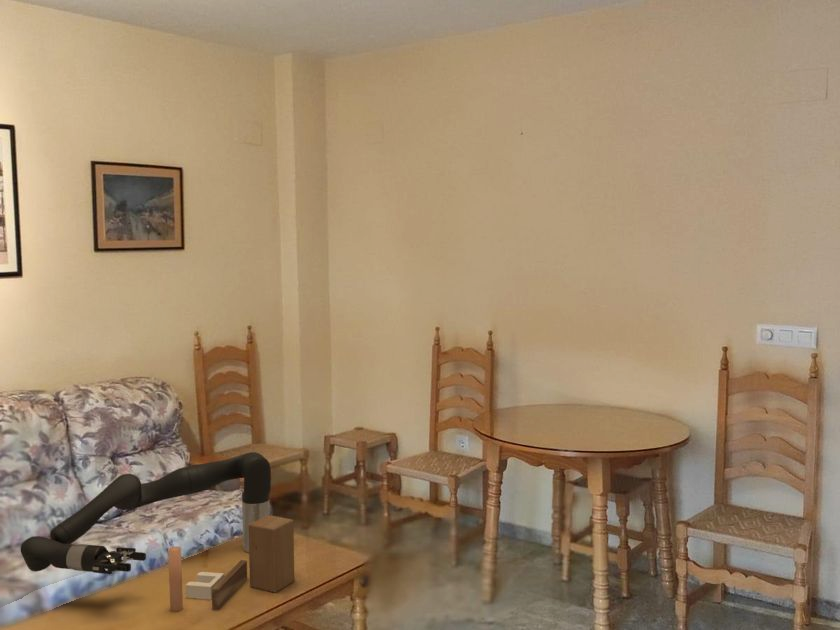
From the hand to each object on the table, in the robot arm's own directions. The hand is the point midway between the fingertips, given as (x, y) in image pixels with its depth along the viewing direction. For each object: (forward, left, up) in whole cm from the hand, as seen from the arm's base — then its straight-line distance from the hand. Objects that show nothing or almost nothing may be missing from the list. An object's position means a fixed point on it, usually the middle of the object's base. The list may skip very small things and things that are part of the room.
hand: (138, 562), depth 239 cm
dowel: (-8, +8, -13) cm, 18 cm away
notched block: (-19, +2, -13) cm, 24 cm away
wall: (-25, +8, -13) cm, 29 cm away
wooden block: (-38, +10, -14) cm, 42 cm away
